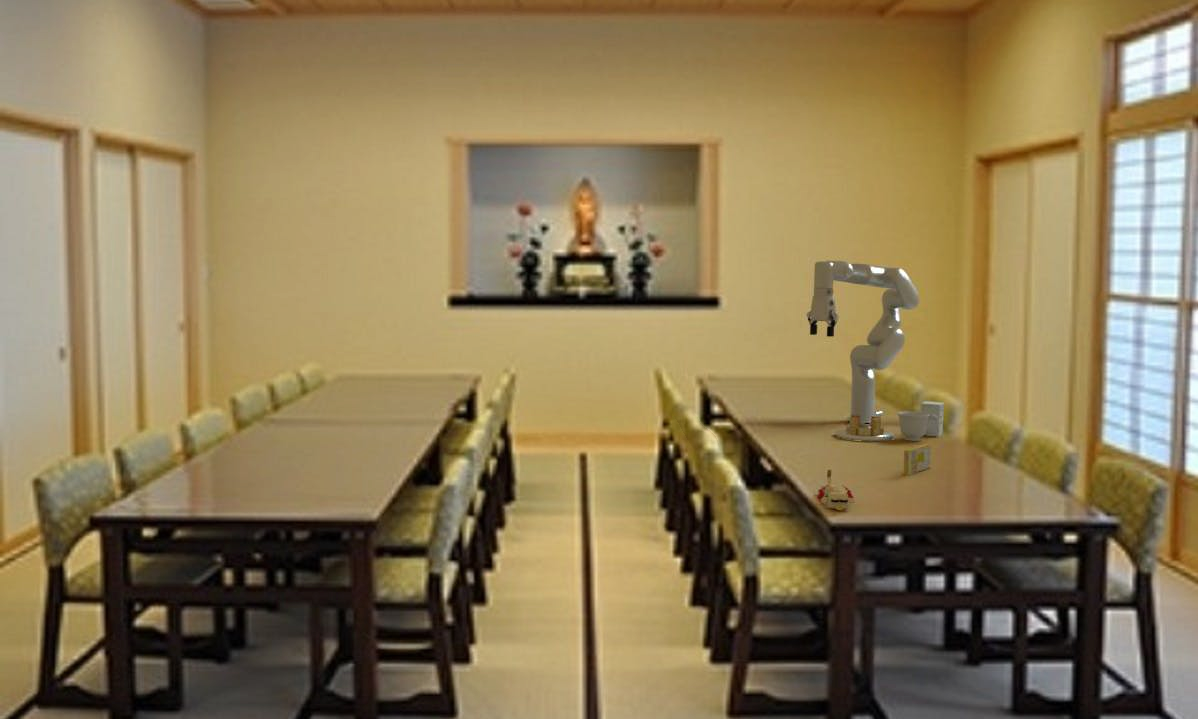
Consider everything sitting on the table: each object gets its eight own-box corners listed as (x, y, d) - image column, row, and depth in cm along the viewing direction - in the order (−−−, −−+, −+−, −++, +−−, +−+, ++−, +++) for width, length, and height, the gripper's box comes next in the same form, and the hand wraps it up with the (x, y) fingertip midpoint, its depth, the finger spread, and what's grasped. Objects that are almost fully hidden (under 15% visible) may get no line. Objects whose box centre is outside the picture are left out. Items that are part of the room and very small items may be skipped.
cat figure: (811, 498, 369) (821, 509, 344) (811, 468, 369) (822, 478, 344) (844, 499, 368) (858, 510, 344) (845, 469, 368) (858, 479, 343)
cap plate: (865, 430, 490) (866, 420, 490) (906, 439, 471) (907, 428, 471) (823, 435, 478) (823, 424, 478) (863, 443, 460) (864, 432, 459)
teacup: (938, 443, 462) (939, 416, 461) (896, 441, 465) (897, 415, 464) (936, 438, 474) (937, 412, 473) (895, 436, 477) (896, 410, 476)
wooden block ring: (865, 428, 484) (866, 413, 484) (891, 433, 472) (892, 418, 472) (838, 431, 477) (839, 416, 476) (864, 436, 465) (864, 420, 465)
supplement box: (919, 435, 481) (920, 403, 479) (923, 432, 487) (925, 400, 486) (938, 437, 477) (940, 404, 476) (943, 434, 484) (944, 402, 482)
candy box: (924, 468, 413) (925, 443, 412) (930, 468, 412) (931, 444, 411) (902, 474, 401) (903, 449, 400) (908, 475, 399) (909, 450, 399)
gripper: (845, 293, 491) (843, 336, 493) (815, 291, 505) (814, 333, 507) (831, 293, 487) (829, 337, 488) (801, 291, 501) (800, 334, 503)
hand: (821, 335), depth 498 cm, fingers open, 9 cm apart
